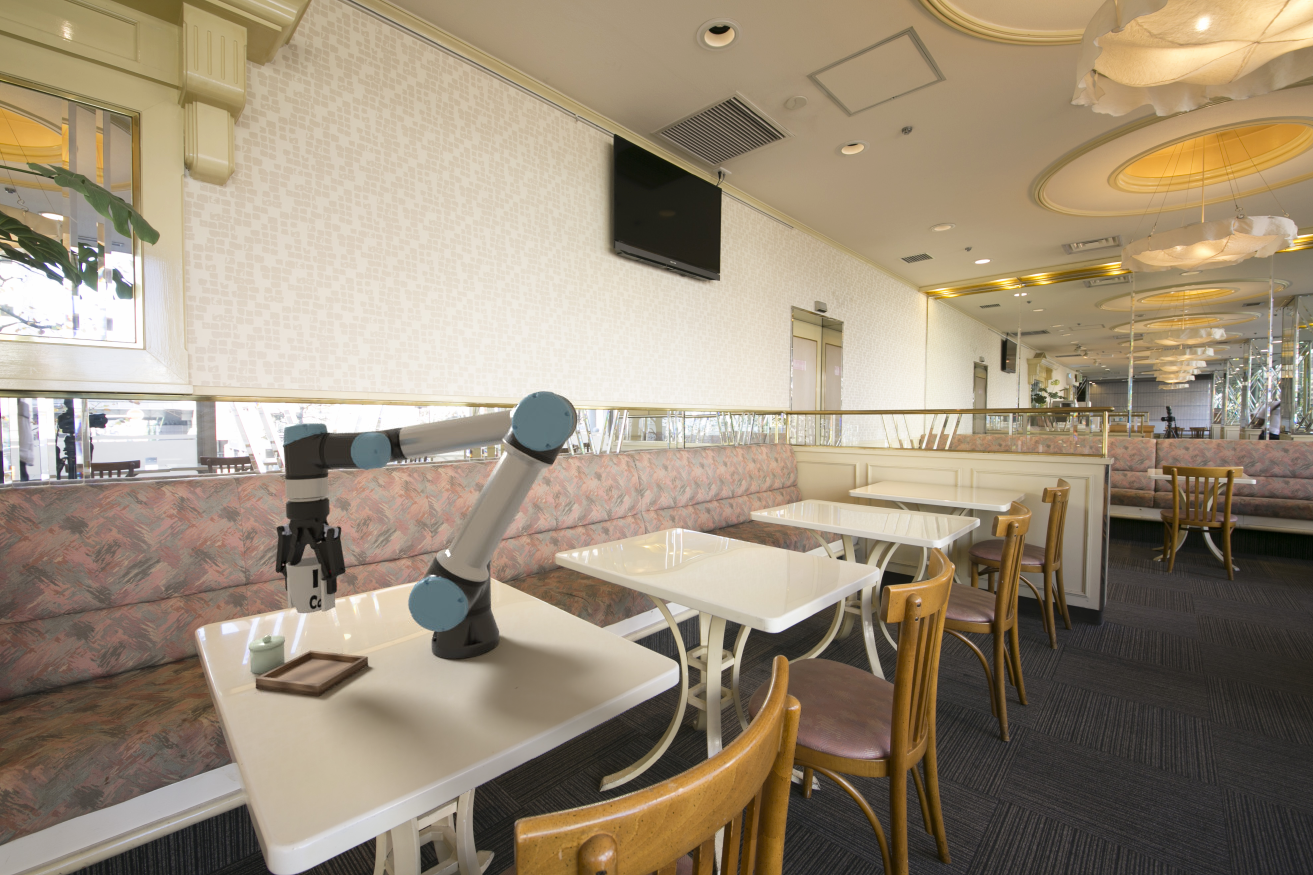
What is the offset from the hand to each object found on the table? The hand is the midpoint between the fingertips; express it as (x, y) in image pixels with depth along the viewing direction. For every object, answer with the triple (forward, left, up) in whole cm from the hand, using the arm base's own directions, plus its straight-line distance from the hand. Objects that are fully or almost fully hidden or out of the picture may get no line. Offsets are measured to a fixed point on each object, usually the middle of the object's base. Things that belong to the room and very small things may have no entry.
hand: (311, 607), depth 113 cm
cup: (0, 0, 0) cm, 0 cm away
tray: (0, 0, -15) cm, 15 cm away
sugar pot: (+13, -2, -15) cm, 20 cm away
